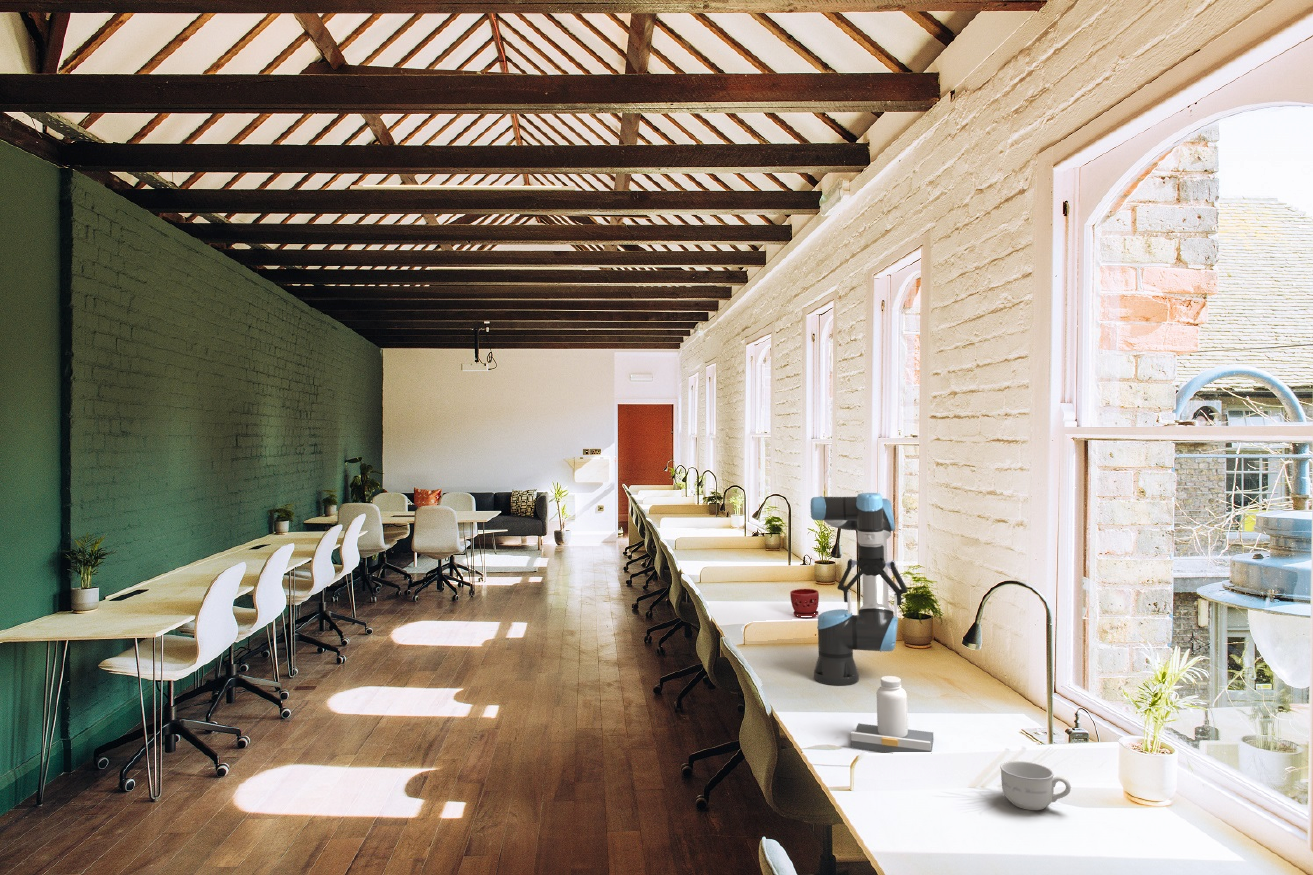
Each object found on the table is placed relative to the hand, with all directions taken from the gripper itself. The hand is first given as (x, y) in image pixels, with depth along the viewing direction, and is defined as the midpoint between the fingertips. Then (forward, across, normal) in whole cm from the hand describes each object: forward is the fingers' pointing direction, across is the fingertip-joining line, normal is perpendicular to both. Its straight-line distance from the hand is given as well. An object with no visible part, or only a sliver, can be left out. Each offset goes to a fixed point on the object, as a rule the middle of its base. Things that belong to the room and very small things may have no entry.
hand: (872, 614), depth 226 cm
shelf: (+29, +7, -23) cm, 38 cm away
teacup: (+28, +40, -48) cm, 69 cm away
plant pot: (+34, -45, +118) cm, 130 cm away
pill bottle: (+27, +7, -21) cm, 35 cm away
